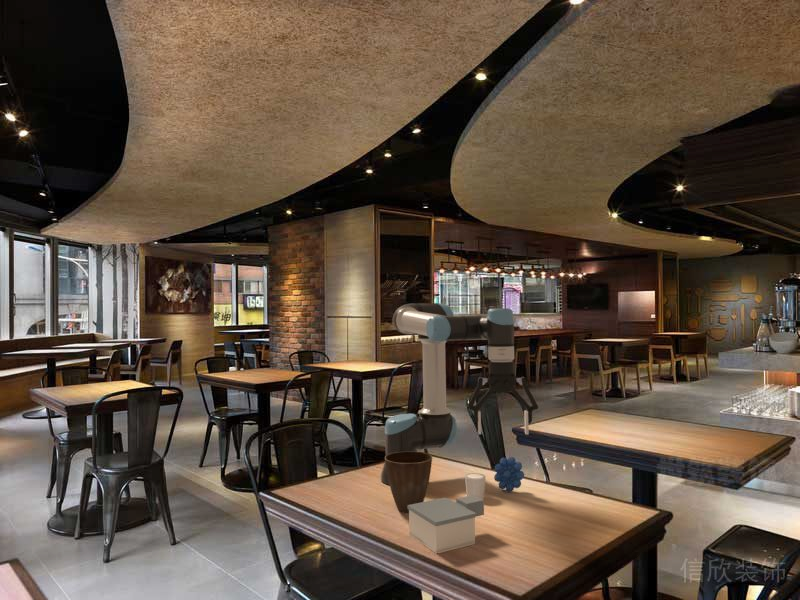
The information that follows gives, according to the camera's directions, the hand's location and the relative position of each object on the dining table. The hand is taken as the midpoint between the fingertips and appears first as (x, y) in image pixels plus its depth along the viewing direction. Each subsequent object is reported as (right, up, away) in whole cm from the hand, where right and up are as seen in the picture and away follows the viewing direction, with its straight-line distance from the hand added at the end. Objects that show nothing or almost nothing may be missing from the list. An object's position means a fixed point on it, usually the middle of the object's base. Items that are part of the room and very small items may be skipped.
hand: (503, 433), depth 160 cm
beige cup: (-5, -26, +21) cm, 34 cm away
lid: (-16, -20, -11) cm, 28 cm away
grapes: (+8, -26, +26) cm, 38 cm away
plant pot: (-27, -26, +11) cm, 39 cm away
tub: (-19, -25, -13) cm, 34 cm away
